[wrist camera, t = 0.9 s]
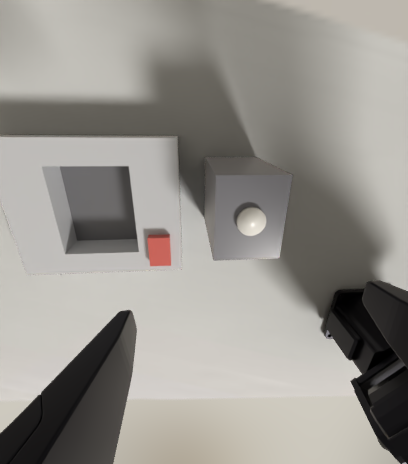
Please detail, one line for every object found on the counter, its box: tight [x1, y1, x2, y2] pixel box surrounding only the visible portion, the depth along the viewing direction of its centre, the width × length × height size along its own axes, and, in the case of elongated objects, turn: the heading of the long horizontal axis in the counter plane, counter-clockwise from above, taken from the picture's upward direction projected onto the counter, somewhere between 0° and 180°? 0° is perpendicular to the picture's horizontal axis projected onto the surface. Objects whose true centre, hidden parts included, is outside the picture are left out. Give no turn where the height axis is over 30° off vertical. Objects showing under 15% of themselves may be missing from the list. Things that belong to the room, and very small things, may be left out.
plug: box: [204, 157, 293, 260], centre depth 16 cm, size 4×5×7 cm
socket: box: [0, 135, 182, 275], centre depth 18 cm, size 12×10×3 cm
